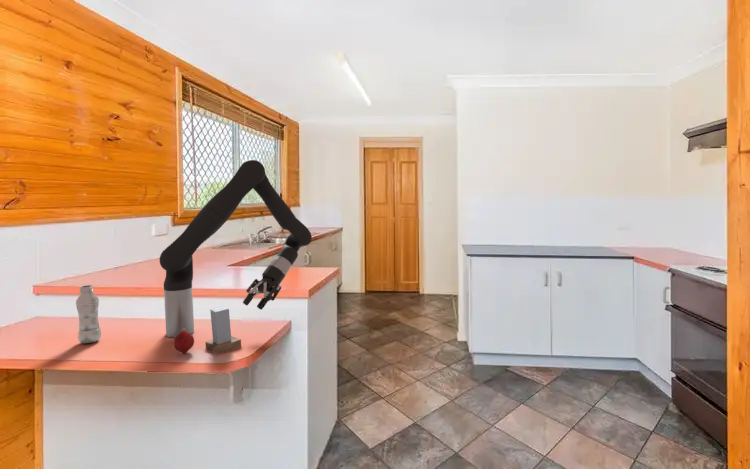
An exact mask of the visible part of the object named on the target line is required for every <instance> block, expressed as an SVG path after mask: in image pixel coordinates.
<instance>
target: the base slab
mask: <svg viewBox="0 0 750 469" xmlns="http://www.w3.org/2000/svg"><path fill="white" fill-rule="evenodd" d="M238 347H239V348H241V347H242V339H241V338H238V337H235V336H233V335H231V341H229V342H225V343H222V344H219V345H218V344H216V343H215V342H214V341H213V338H212V339H210V340H207V341H205V350H208V351H210V352H213V353H214V354H218V355H222V354H225V353H227V351H228V352H230V351H233V350H236V349H238ZM232 349H233V350H232Z"/></svg>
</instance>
